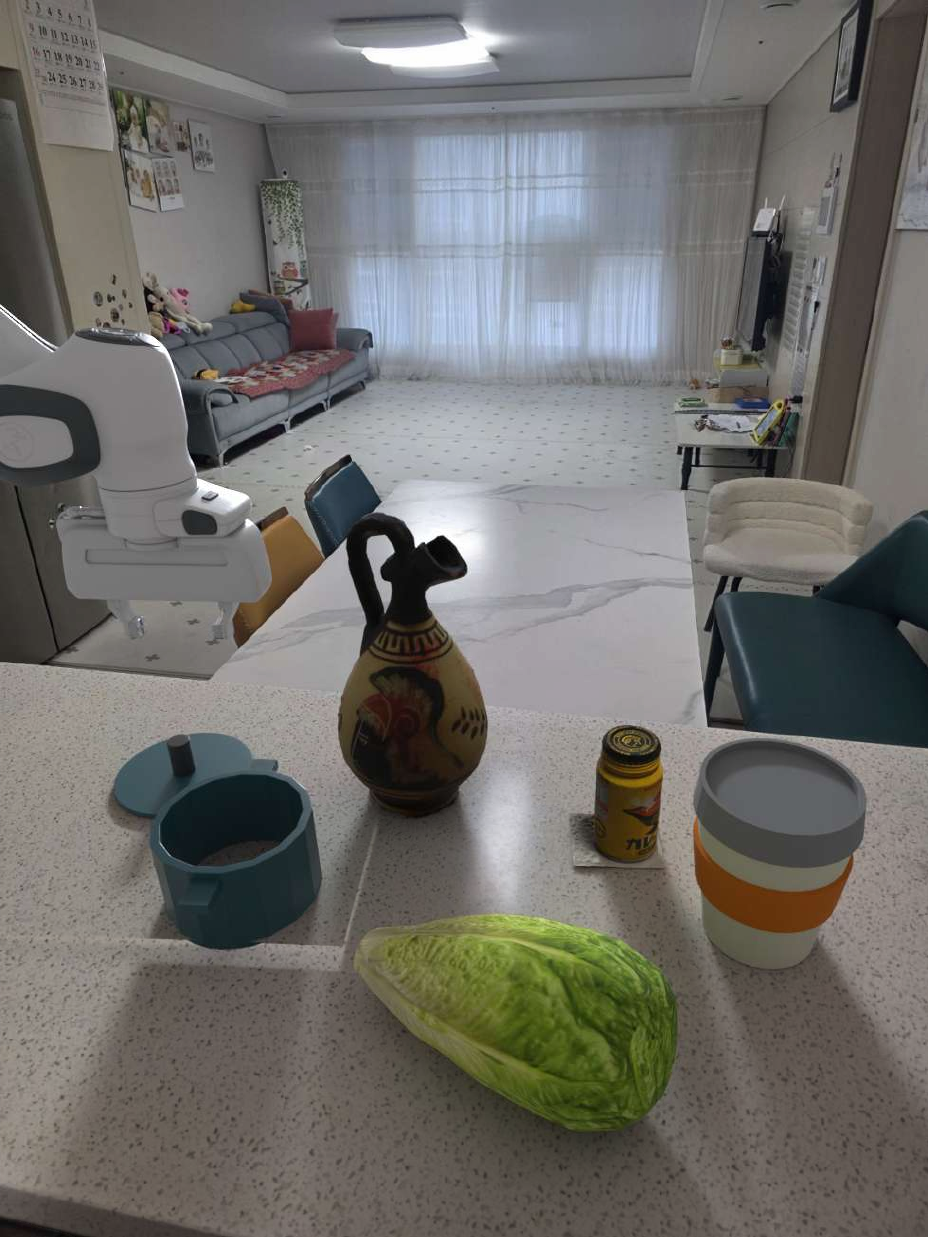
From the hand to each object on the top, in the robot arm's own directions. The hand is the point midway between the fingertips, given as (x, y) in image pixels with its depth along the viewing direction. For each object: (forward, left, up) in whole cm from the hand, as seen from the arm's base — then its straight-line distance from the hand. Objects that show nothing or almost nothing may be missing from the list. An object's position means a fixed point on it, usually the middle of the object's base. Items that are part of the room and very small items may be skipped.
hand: (180, 636), depth 85 cm
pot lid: (-2, -2, -16) cm, 17 cm away
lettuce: (+34, -32, -17) cm, 50 cm away
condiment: (+44, -10, -17) cm, 48 cm away
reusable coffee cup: (+55, -20, -17) cm, 61 cm away
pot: (+10, -18, -17) cm, 27 cm away
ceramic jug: (+23, -2, -17) cm, 29 cm away
